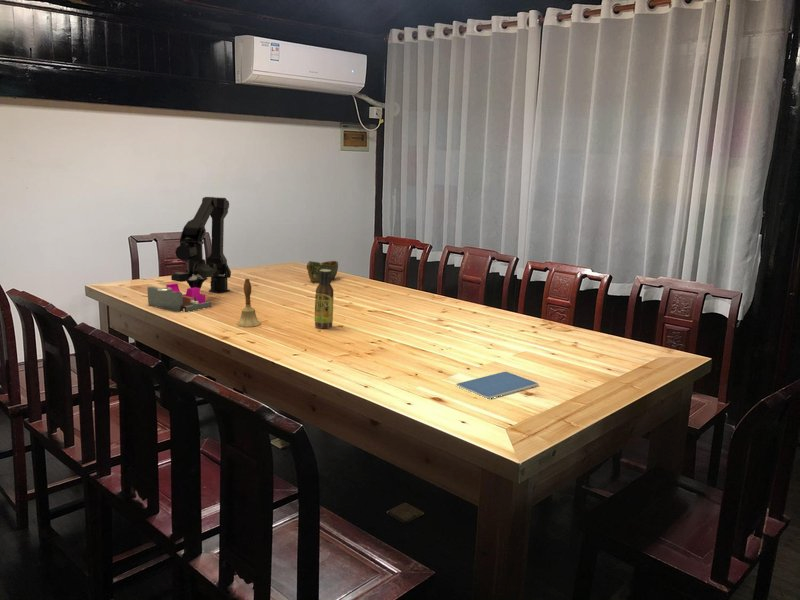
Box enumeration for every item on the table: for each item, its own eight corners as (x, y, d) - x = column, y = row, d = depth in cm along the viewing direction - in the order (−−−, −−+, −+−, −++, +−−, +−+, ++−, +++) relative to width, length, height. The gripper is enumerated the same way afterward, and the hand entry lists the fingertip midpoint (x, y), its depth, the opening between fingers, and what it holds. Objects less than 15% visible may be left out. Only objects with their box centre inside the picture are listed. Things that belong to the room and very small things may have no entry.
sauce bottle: (311, 327, 223) (311, 270, 218) (320, 323, 228) (320, 267, 224) (327, 330, 220) (328, 272, 216) (336, 326, 226) (337, 269, 222)
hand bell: (236, 327, 220) (235, 281, 217) (236, 321, 228) (235, 277, 224) (261, 326, 222) (261, 280, 219) (260, 321, 230) (259, 276, 227)
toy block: (205, 306, 250) (205, 287, 249) (192, 309, 245) (191, 289, 244) (180, 300, 259) (179, 282, 257) (167, 303, 253) (166, 284, 252)
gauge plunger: (165, 300, 254) (164, 290, 253) (199, 307, 243) (198, 297, 242) (161, 300, 253) (161, 290, 252) (195, 308, 242) (195, 297, 241)
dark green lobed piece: (296, 279, 309) (296, 258, 307) (334, 277, 320) (334, 256, 318) (308, 284, 299) (308, 262, 297) (346, 281, 310) (347, 260, 307)
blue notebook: (487, 402, 160) (488, 397, 159) (453, 387, 169) (453, 382, 169) (540, 388, 171) (540, 383, 171) (505, 374, 181) (505, 370, 181)
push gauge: (174, 298, 260) (173, 280, 259) (211, 307, 248) (210, 287, 247) (141, 305, 248) (140, 285, 247) (178, 313, 236) (177, 293, 235)
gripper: (188, 261, 240) (190, 302, 244) (227, 256, 255) (228, 295, 259) (169, 258, 246) (171, 298, 250) (208, 253, 262) (210, 291, 265)
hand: (196, 296), depth 256 cm, fingers closed
